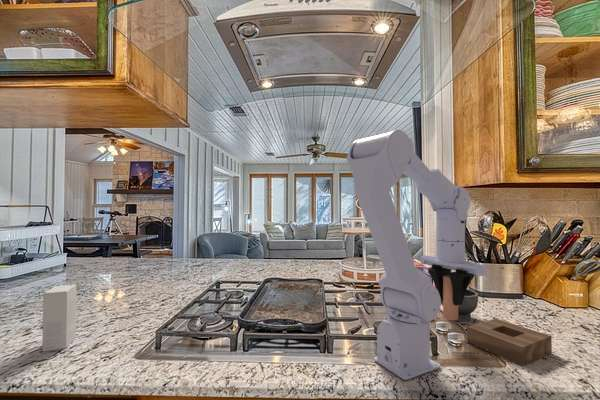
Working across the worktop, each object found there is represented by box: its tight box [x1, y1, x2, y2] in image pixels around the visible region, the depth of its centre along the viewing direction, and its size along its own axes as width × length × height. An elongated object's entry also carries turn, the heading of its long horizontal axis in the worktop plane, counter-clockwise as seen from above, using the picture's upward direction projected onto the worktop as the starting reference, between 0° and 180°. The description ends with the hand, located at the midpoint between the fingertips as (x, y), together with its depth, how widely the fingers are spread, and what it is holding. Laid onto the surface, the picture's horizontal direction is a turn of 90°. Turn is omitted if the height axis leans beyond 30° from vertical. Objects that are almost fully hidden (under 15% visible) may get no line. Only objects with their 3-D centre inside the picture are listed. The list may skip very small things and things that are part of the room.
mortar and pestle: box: [441, 288, 479, 322], centre depth 83 cm, size 11×9×12 cm
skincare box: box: [41, 284, 78, 353], centre depth 65 cm, size 6×4×12 cm
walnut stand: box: [466, 318, 553, 367], centre depth 64 cm, size 11×11×4 cm
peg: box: [442, 275, 458, 321], centre depth 66 cm, size 3×3×9 cm
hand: (450, 302), depth 66 cm, fingers closed on peg, 3 cm apart
